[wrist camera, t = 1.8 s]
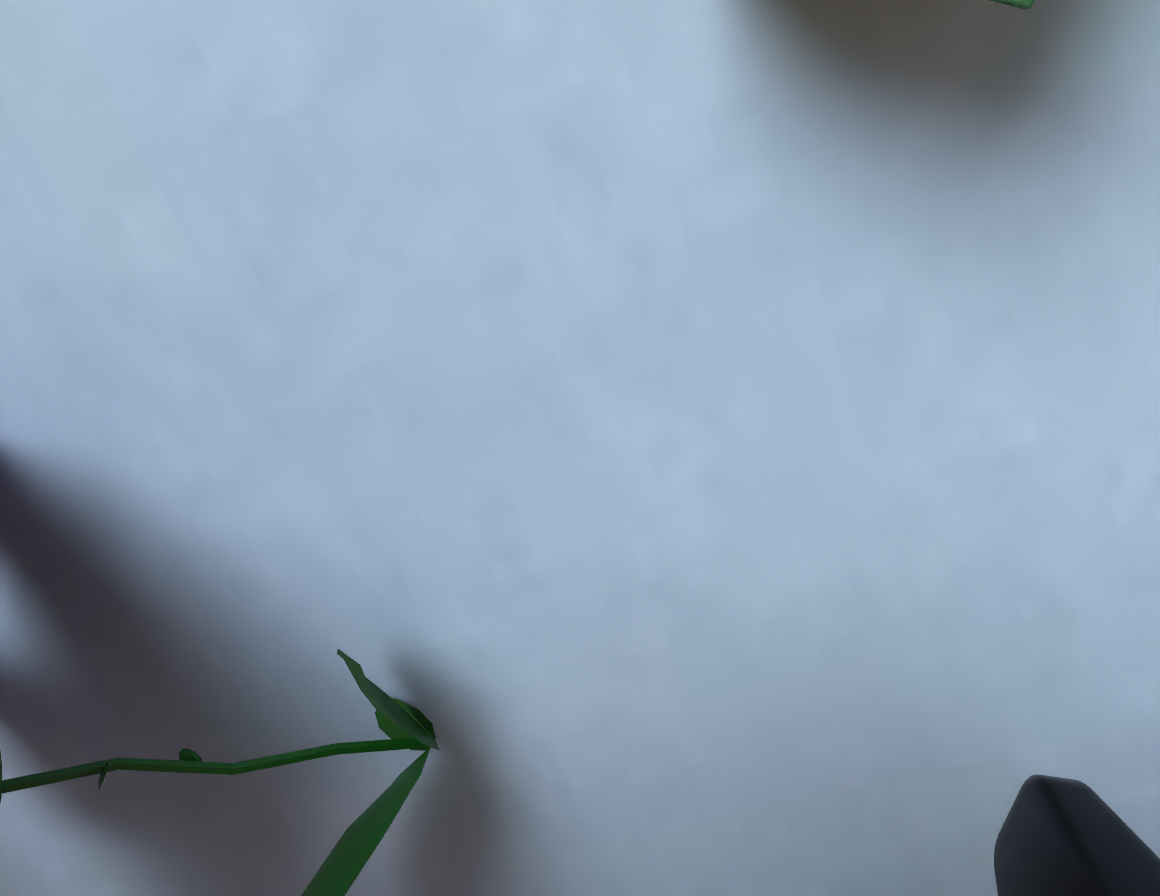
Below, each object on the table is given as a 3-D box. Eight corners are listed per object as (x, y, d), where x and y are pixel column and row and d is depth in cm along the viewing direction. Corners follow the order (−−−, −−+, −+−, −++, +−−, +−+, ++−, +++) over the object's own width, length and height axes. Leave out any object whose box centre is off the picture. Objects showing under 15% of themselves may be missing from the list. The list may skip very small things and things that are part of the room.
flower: (430, 335, 26) (-237, 278, 20) (688, 852, 15) (-602, 1089, 9) (329, 721, 34) (-179, 768, 27) (455, 1251, 23) (-339, 1534, 16)
